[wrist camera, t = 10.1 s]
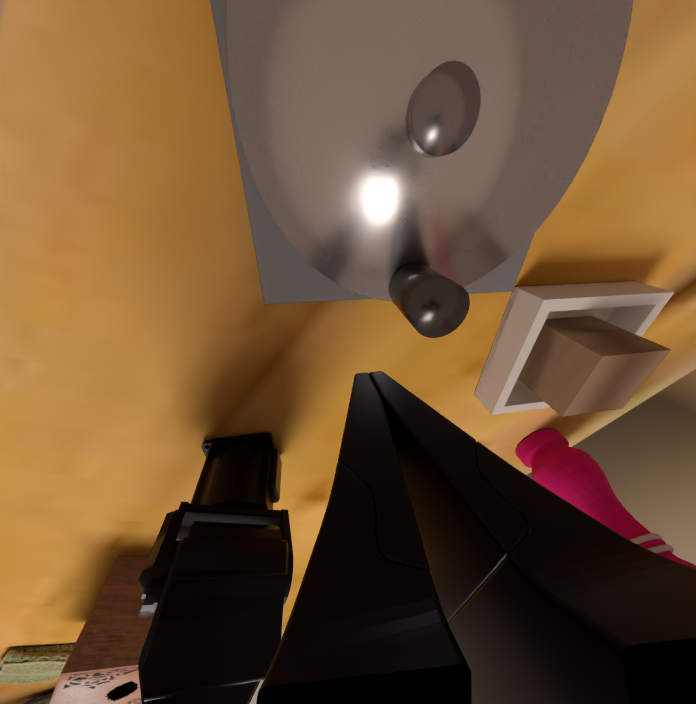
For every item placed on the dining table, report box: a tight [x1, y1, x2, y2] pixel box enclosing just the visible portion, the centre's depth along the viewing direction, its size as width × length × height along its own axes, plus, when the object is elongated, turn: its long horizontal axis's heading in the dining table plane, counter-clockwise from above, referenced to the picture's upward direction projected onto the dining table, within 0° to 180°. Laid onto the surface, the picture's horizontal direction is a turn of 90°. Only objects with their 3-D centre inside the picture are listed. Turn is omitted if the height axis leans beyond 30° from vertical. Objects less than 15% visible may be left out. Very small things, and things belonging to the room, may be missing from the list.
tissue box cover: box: [49, 556, 152, 704], centre depth 37 cm, size 26×14×10 cm, turn 147°
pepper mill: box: [516, 429, 696, 568], centre depth 27 cm, size 7×7×20 cm
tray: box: [474, 281, 674, 415], centre depth 24 cm, size 12×12×3 cm
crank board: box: [210, 0, 534, 304], centre depth 14 cm, size 19×19×1 cm
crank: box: [226, 0, 633, 338], centre depth 11 cm, size 18×18×6 cm
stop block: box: [518, 316, 671, 417], centre depth 22 cm, size 6×6×6 cm
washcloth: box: [0, 643, 75, 684], centre depth 48 cm, size 13×18×3 cm
